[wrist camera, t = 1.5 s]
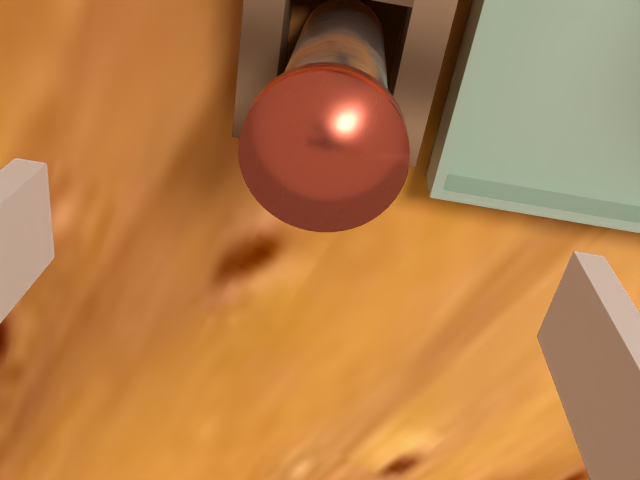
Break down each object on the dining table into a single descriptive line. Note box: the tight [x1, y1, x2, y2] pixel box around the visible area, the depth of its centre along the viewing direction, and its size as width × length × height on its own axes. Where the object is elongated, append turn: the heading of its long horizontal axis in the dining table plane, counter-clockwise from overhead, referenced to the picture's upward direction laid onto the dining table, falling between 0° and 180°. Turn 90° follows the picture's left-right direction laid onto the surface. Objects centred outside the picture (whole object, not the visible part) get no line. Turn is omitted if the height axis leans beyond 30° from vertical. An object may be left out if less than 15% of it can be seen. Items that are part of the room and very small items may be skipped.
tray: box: [426, 0, 640, 233], centre depth 33 cm, size 14×17×3 cm
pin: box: [238, 0, 410, 232], centre depth 27 cm, size 6×6×16 cm
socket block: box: [232, 0, 458, 167], centre depth 32 cm, size 10×10×4 cm
